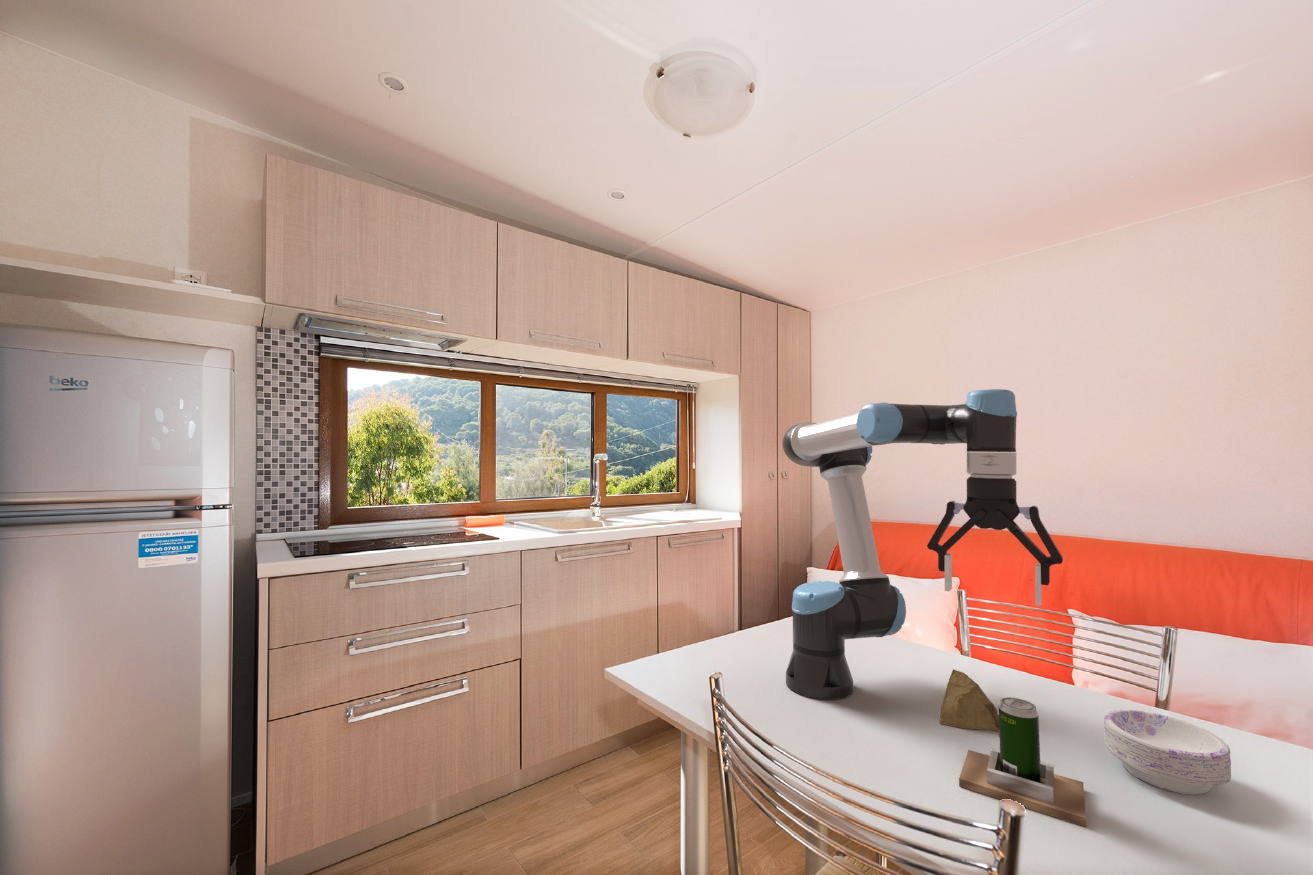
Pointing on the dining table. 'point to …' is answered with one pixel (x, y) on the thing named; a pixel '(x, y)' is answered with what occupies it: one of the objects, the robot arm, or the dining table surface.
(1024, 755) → the beer can
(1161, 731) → the paper bowls
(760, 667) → the dining table surface
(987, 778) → the socket board
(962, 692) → the rock
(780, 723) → the dining table surface
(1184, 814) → the dining table surface
